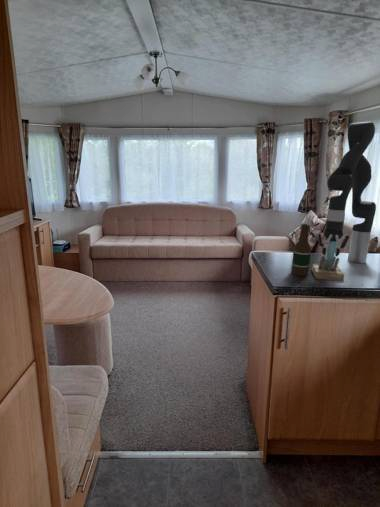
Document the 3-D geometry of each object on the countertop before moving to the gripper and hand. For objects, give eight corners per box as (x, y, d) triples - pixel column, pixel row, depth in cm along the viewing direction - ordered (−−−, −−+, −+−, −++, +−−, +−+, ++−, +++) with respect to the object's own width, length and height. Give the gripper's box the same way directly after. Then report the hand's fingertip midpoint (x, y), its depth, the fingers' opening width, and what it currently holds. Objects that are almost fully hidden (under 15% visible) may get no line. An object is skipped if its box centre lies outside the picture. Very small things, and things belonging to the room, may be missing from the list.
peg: (324, 266, 163) (328, 239, 157) (331, 267, 163) (336, 240, 157) (325, 269, 160) (329, 242, 155) (332, 270, 160) (337, 243, 154)
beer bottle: (308, 272, 165) (314, 223, 159) (307, 277, 158) (314, 226, 152) (291, 270, 168) (296, 222, 162) (290, 275, 161) (296, 225, 155)
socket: (311, 269, 170) (314, 251, 168) (337, 272, 168) (340, 254, 165) (315, 278, 157) (318, 259, 154) (343, 281, 154) (346, 261, 152)
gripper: (350, 219, 157) (344, 255, 161) (317, 217, 159) (313, 252, 164) (354, 221, 150) (348, 259, 154) (319, 219, 152) (315, 256, 157)
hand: (330, 255), depth 159 cm, fingers open, 4 cm apart
